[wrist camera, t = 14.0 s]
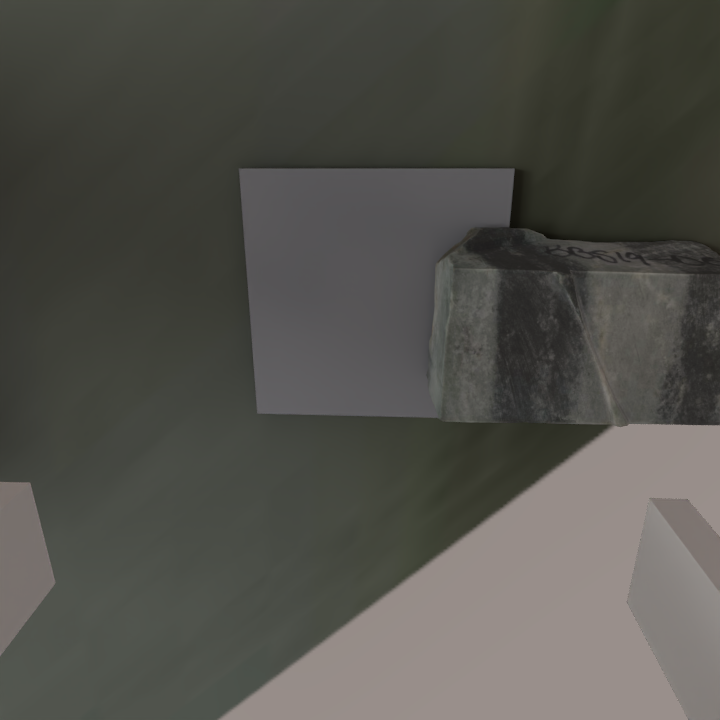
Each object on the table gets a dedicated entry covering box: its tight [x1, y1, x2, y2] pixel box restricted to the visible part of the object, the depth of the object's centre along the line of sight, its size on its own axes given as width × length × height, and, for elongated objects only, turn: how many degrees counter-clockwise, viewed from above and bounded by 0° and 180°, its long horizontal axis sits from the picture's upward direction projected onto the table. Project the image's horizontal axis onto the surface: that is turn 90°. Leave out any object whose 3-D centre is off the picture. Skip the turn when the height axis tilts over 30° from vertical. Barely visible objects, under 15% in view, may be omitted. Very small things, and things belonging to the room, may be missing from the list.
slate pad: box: [239, 168, 515, 418], centre depth 31 cm, size 14×14×1 cm
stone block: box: [426, 227, 720, 427], centre depth 28 cm, size 9×14×5 cm, turn 89°
